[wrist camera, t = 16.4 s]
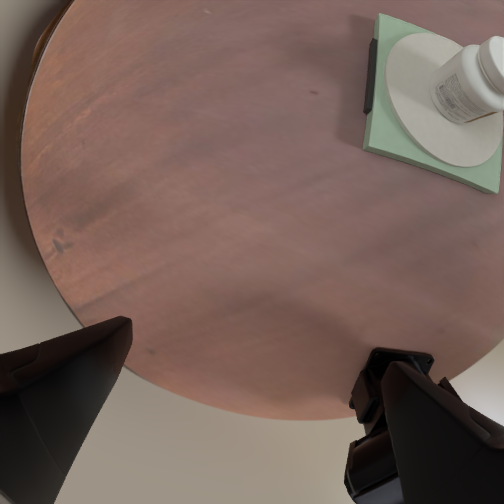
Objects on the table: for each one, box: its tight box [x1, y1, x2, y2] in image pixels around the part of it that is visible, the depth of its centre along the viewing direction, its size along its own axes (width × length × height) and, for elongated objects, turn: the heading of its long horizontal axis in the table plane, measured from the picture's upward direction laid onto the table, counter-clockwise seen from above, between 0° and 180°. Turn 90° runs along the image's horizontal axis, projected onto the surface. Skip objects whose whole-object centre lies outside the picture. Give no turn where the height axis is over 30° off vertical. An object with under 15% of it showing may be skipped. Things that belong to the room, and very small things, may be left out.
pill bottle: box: [429, 36, 504, 124], centre depth 11 cm, size 4×4×8 cm
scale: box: [363, 13, 503, 194], centre depth 16 cm, size 12×12×2 cm
